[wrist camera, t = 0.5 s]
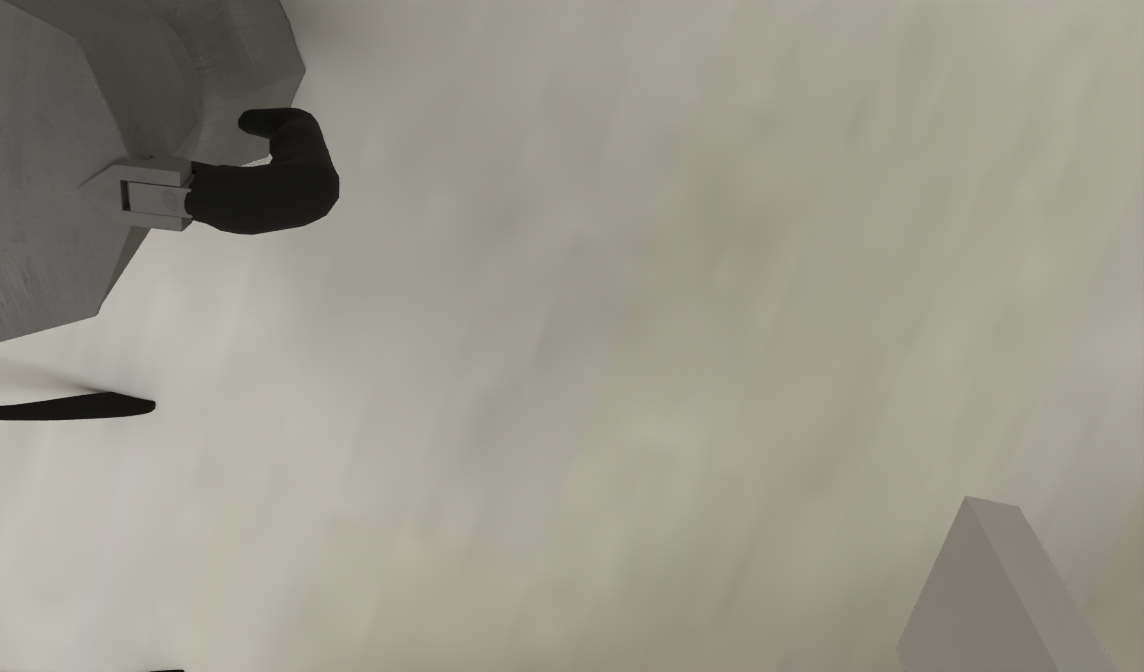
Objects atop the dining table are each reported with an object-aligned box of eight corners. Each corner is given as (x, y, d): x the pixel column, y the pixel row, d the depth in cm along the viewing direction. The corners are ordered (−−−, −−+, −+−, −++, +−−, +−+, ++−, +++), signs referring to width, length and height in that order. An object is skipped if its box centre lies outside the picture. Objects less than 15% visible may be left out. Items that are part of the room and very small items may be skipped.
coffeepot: (6, 160, 40) (-411, 376, 24) (-24, -111, 36) (-549, -79, 20) (416, 208, 40) (286, 453, 24) (430, -56, 36) (287, 21, 20)
